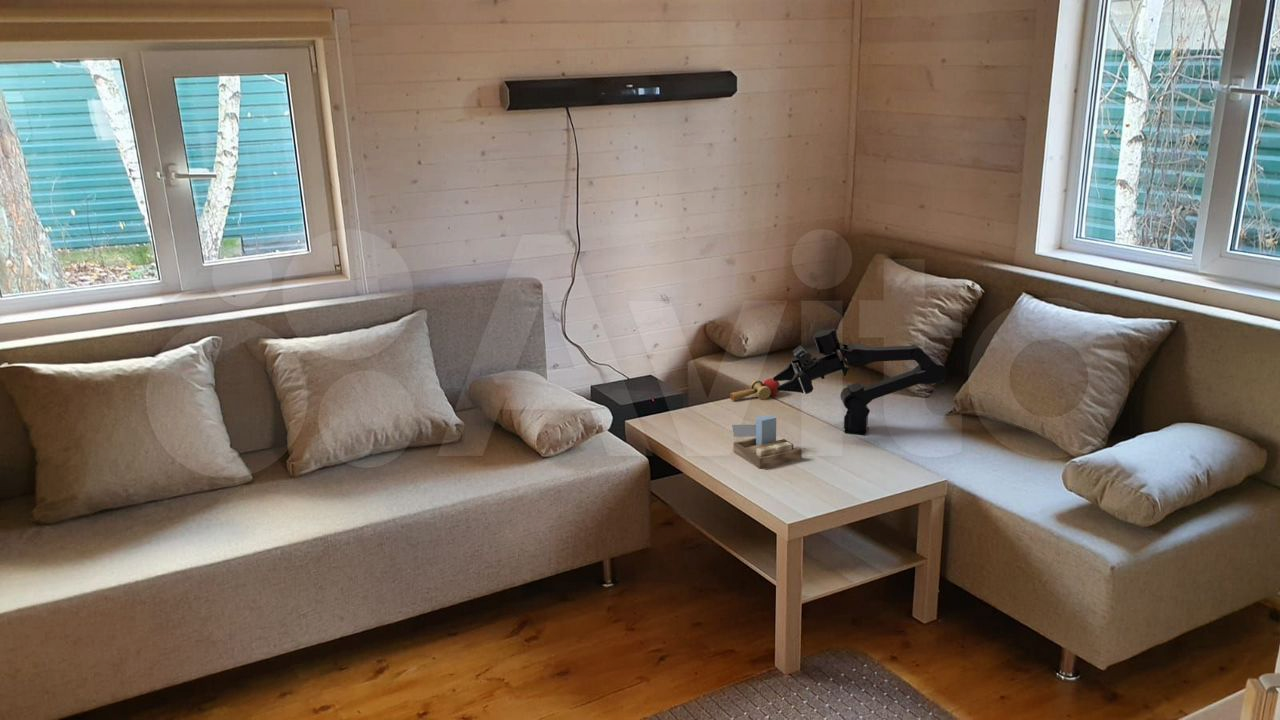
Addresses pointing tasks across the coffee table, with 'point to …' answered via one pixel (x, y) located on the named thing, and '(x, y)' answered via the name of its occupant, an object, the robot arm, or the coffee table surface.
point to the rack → (748, 453)
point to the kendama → (758, 390)
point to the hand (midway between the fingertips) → (775, 384)
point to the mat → (744, 430)
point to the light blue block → (765, 429)
